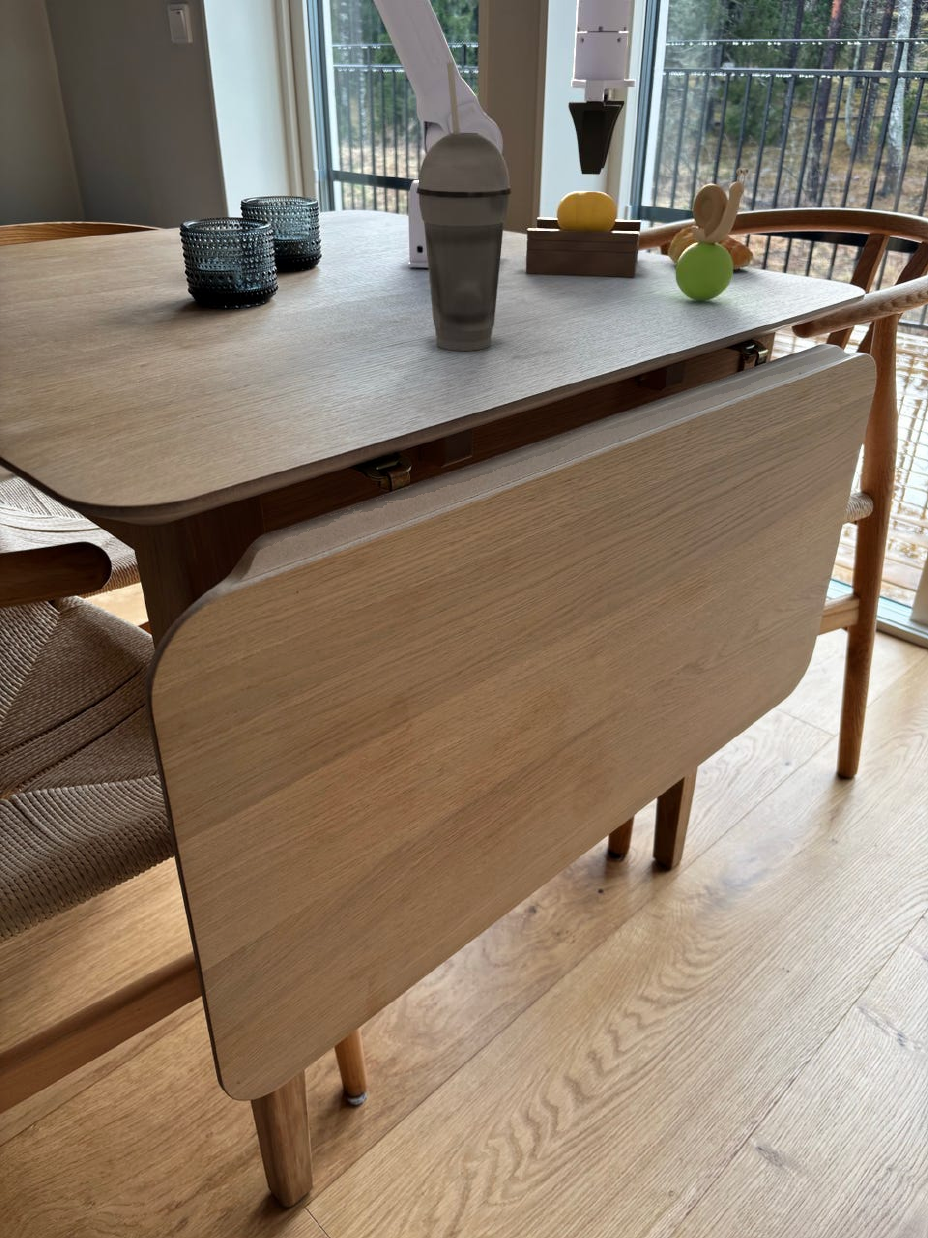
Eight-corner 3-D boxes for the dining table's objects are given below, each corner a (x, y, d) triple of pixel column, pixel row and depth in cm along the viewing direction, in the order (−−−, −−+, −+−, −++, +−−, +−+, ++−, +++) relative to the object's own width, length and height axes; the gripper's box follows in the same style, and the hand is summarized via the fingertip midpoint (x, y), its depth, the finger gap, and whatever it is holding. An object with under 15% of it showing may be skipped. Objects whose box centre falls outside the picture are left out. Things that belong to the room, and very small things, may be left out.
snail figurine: (703, 310, 89) (721, 169, 83) (661, 297, 94) (675, 163, 88) (747, 304, 91) (768, 167, 85) (703, 292, 96) (720, 161, 90)
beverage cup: (478, 359, 73) (481, 61, 63) (402, 347, 77) (393, 61, 67) (523, 340, 79) (533, 62, 69) (450, 329, 82) (449, 62, 72)
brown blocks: (525, 273, 105) (527, 229, 103) (536, 257, 113) (537, 217, 111) (634, 277, 103) (638, 233, 101) (637, 261, 111) (641, 220, 109)
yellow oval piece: (554, 244, 106) (553, 212, 101) (559, 213, 107) (558, 180, 103) (614, 246, 105) (615, 214, 100) (617, 215, 106) (619, 182, 102)
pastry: (762, 267, 108) (768, 232, 106) (731, 276, 104) (736, 239, 102) (693, 257, 114) (697, 223, 112) (660, 265, 110) (663, 229, 108)
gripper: (637, 30, 96) (625, 177, 103) (641, 34, 108) (630, 166, 115) (568, 30, 97) (560, 176, 104) (579, 34, 109) (572, 164, 116)
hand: (593, 171), depth 109 cm, fingers open, 7 cm apart
